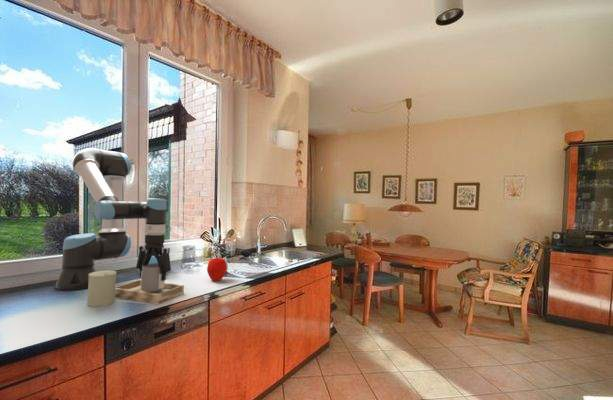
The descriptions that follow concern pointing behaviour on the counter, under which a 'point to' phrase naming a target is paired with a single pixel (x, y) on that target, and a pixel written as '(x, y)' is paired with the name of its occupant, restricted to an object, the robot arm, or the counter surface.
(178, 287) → the box
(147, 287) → the cup
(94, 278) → the can
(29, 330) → the counter surface
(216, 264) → the apple
